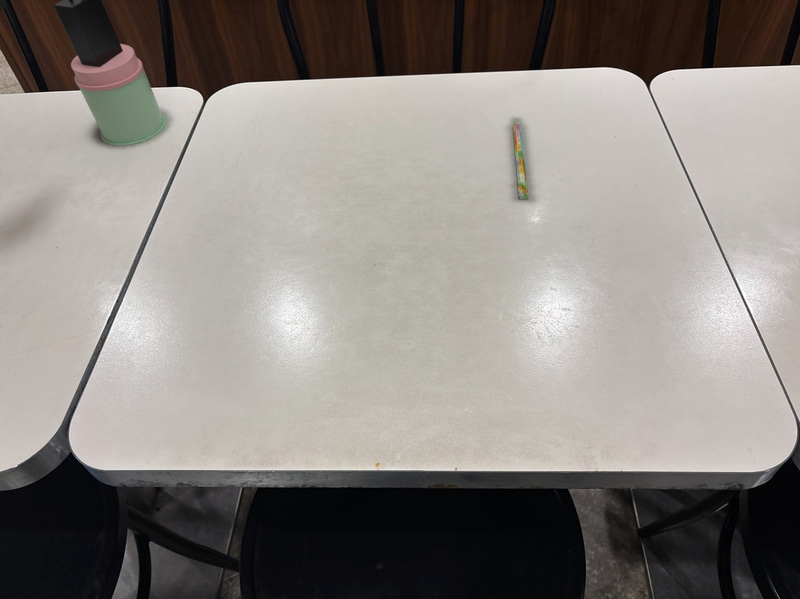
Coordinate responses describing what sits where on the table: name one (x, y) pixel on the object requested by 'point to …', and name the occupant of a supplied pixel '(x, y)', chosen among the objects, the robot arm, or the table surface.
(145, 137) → the green canister pink lid
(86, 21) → the wall charger plug
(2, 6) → the robot arm
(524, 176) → the pencil
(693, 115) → the table surface
